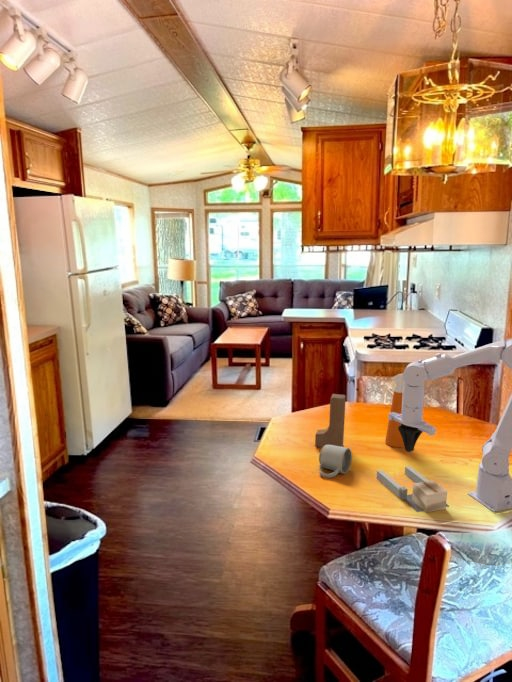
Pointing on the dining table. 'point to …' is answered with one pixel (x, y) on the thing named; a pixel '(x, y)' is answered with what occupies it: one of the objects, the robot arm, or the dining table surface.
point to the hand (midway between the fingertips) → (409, 450)
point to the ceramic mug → (335, 459)
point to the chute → (395, 487)
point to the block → (429, 496)
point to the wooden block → (333, 424)
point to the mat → (412, 504)
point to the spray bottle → (392, 431)
